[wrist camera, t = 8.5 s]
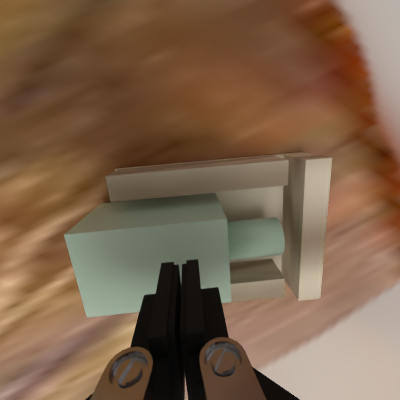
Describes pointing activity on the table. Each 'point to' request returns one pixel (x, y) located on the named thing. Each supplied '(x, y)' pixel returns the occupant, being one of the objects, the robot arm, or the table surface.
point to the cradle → (252, 211)
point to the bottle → (160, 247)
